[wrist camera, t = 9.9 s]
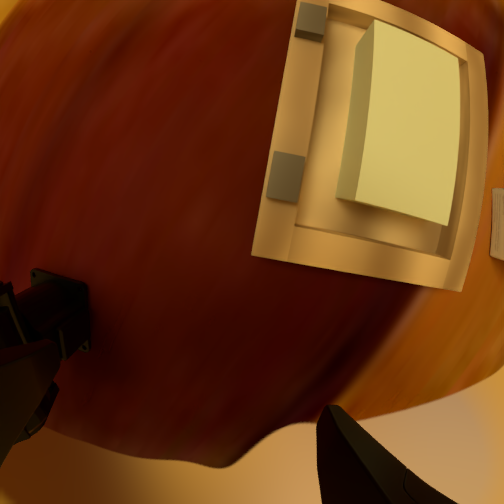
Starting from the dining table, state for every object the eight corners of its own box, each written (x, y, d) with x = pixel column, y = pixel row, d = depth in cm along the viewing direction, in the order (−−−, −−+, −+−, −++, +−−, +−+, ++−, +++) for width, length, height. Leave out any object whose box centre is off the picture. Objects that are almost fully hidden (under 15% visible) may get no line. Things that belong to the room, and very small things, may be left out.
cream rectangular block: (334, 197, 17) (354, 200, 13) (355, 46, 15) (374, 19, 11) (414, 218, 17) (447, 226, 13) (429, 75, 15) (458, 58, 11)
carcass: (252, 244, 19) (250, 259, 15) (296, 0, 15) (302, -30, 11) (440, 279, 19) (468, 296, 15) (463, 64, 15) (490, 50, 11)
